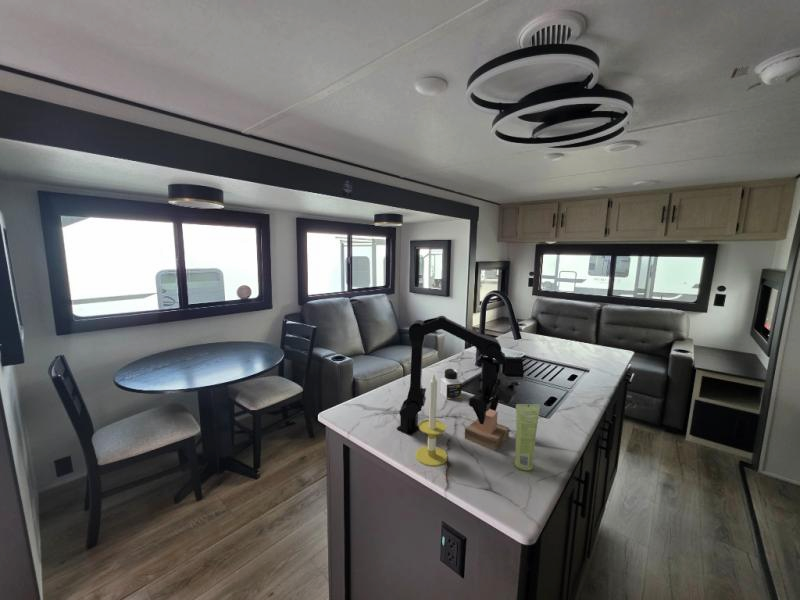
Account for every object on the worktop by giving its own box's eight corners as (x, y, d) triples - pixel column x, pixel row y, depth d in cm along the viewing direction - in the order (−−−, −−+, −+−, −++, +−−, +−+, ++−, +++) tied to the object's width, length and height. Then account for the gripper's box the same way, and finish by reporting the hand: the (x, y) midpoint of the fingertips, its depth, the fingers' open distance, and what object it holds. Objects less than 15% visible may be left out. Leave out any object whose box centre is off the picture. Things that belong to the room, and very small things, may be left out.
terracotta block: (491, 434, 106) (492, 417, 105) (477, 429, 109) (478, 412, 108) (496, 427, 110) (497, 411, 109) (483, 423, 113) (483, 407, 112)
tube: (519, 457, 99) (523, 398, 97) (535, 465, 96) (540, 403, 93) (511, 466, 95) (515, 404, 92) (528, 474, 92) (533, 410, 89)
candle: (430, 443, 106) (432, 365, 103) (454, 457, 99) (457, 374, 95) (408, 454, 100) (410, 372, 96) (432, 470, 92) (435, 382, 89)
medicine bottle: (446, 399, 139) (447, 373, 138) (440, 393, 146) (441, 368, 145) (461, 398, 141) (462, 372, 140) (454, 391, 148) (455, 366, 147)
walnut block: (494, 452, 102) (495, 441, 102) (464, 439, 109) (465, 428, 109) (508, 438, 111) (509, 427, 110) (479, 427, 118) (480, 417, 117)
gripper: (502, 390, 95) (499, 439, 97) (523, 373, 109) (520, 416, 111) (468, 380, 102) (466, 426, 104) (492, 366, 116) (490, 406, 118)
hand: (487, 418), depth 109 cm, fingers open, 9 cm apart
